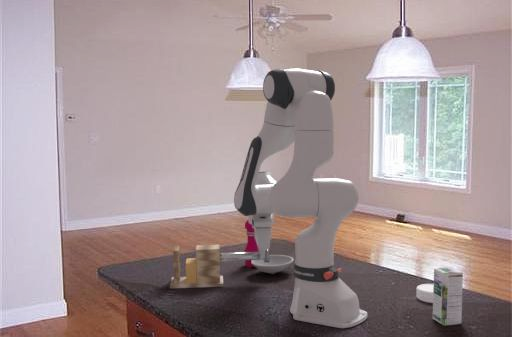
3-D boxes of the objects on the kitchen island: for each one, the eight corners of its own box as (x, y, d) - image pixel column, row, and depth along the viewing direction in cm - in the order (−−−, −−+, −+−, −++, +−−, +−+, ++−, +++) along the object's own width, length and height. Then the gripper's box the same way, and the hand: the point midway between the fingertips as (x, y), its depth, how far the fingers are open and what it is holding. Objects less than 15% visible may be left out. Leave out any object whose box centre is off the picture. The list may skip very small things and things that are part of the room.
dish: (273, 282, 187) (273, 268, 187) (242, 275, 196) (242, 262, 196) (302, 271, 201) (302, 258, 200) (272, 265, 210) (272, 252, 209)
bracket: (222, 278, 193) (222, 243, 192) (223, 286, 183) (222, 250, 182) (172, 279, 192) (171, 245, 191) (169, 288, 182) (168, 251, 181)
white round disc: (434, 306, 162) (435, 294, 161) (409, 297, 170) (409, 286, 170) (456, 300, 167) (457, 289, 166) (431, 292, 175) (431, 281, 175)
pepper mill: (260, 268, 206) (259, 216, 204) (242, 267, 207) (241, 216, 206) (263, 263, 213) (263, 213, 211) (246, 262, 214) (245, 213, 213)
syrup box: (431, 318, 150) (432, 267, 149) (450, 317, 152) (451, 266, 151) (443, 326, 145) (444, 273, 144) (462, 324, 146) (463, 271, 145)
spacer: (197, 277, 191) (196, 258, 190) (196, 283, 184) (195, 263, 183) (187, 277, 190) (186, 258, 190) (186, 283, 183) (185, 263, 183)
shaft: (268, 260, 191) (267, 247, 191) (269, 264, 186) (269, 250, 186) (197, 262, 189) (197, 249, 189) (197, 266, 184) (197, 252, 184)
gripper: (250, 213, 197) (250, 250, 198) (254, 223, 177) (254, 264, 178) (267, 212, 198) (267, 250, 199) (273, 222, 177) (273, 264, 179)
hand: (261, 257), depth 188 cm, fingers closed on shaft, 3 cm apart
